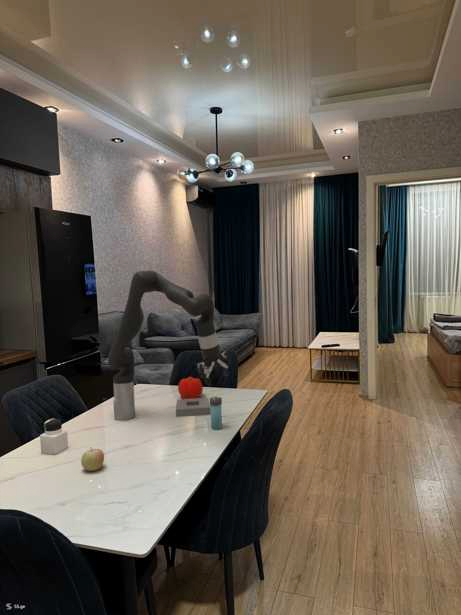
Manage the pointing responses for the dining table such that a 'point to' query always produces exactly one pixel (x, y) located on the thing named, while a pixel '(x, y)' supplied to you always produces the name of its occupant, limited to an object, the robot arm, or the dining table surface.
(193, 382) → the tomato
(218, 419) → the plug
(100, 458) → the fruit
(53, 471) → the dining table surface
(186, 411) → the socket block
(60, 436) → the medicine bottle
